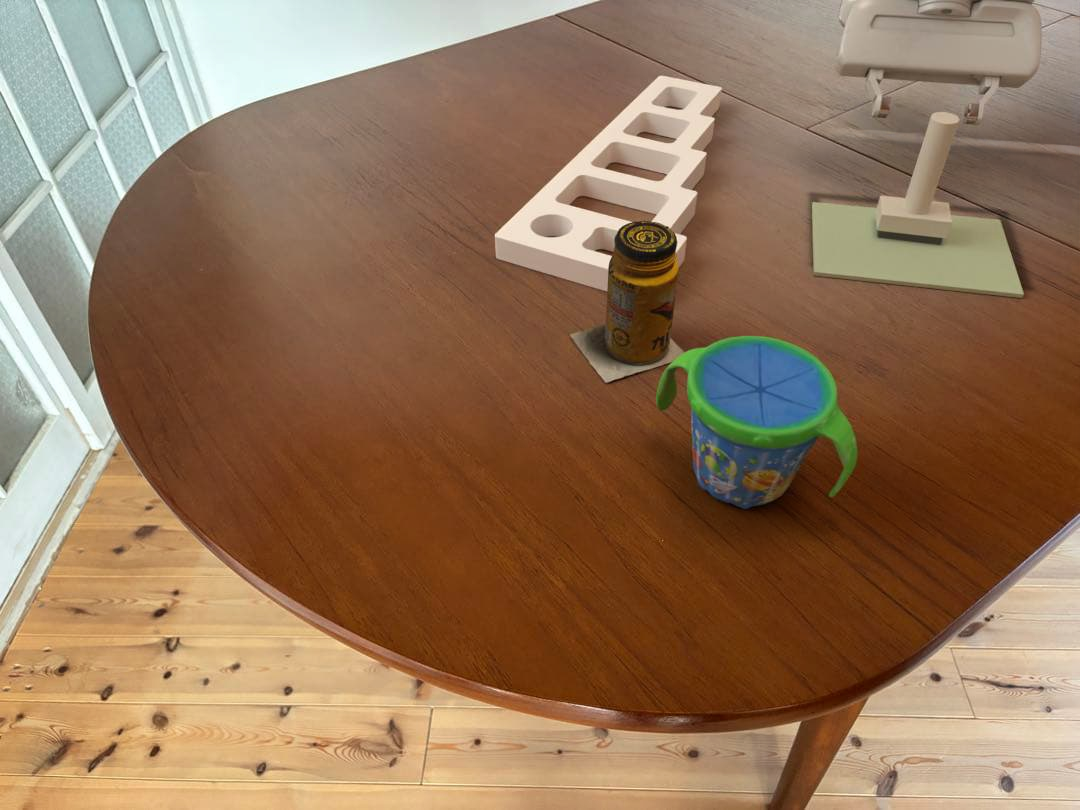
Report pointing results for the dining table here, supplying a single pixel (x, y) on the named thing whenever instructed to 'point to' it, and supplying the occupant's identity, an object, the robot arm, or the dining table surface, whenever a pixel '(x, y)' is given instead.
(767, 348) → the snack cup
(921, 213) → the brush
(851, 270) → the mat
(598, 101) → the dining table surface
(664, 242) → the condiment
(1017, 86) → the robot arm
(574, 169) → the holder
